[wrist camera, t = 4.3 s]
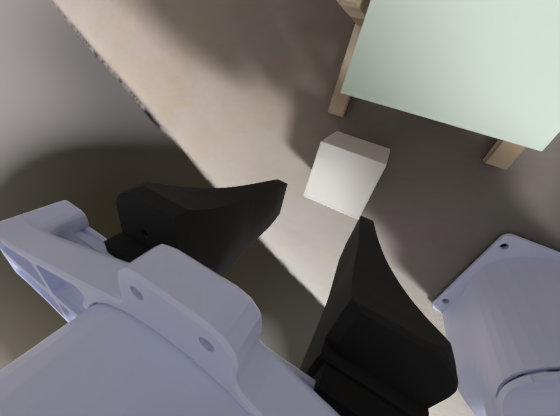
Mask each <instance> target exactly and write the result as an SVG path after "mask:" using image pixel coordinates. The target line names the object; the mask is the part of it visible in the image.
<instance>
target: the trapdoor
mask: <svg viewBox="0 0 560 416" xmlns="http://www.w3.org/2000/svg"><path fill="white" fill-rule="evenodd" d="M340 93H342V94H346V95H349V96H353V97H356V98H360V99H363V100H367V101H370V102H373V103H377V104H380V105H384V106H387V107H391V108H394V109H397V110H401V111H404V112H408V113H411V114H415V115H418V116H422V117H425V118H428V119H432V120H435V121H439V122H442V123H446V124H449V125H453V126H456V127H459V128H463V129H466V130H470V131H473V132H477V133H480V134H483V135H487V136H490V137H494V138H497V139H501V140H504V141H508V142H511V143H514V144H518V145H521V146H525V147H528V148H532V149H535V150H539V151H543V149H544V148H545V147H546V146H547V145H548V144H549V143H550V142H551V141H552V140H553V138H554V137H555V136H556V135H557V134H558V133H559V132H560V0H371V1H370V4H369V7H368V10H367V13H366V16H365V19H364V22H363V25H362V28H361V31H360V34H359V37H358V40H357V43H356V46H355V50H354V53H353V56H352V59H351V62H350V65H349V68H348V71H347V74H346V77H345V80H344V83H343V86H342V89H341V92H340Z"/></svg>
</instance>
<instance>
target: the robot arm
mask: <svg viewBox="0 0 560 416" xmlns="http://www.w3.org/2000/svg"><path fill="white" fill-rule="evenodd" d="M286 187H287V183H285V182H282V181H280V180H271V181H266V182H261V183H255V184H250V185H244V186H237V187H228V188H190V187H179V186H172V185H166V184H159V183H154V182H148V181H147V182H144V183H141V184H139V185H136V186H133V187H130V188H128V189H125V190H123V191H120V193H119V194H118V196H117V201H116V204H117V210H118V215H119V219H120V223H121V227H122V231H123V232H121V233H119V234H117V235H115V236H114V237H111V238H109V239H106V238H105V237H103V236H102V235H100V234H99V233H97V232H96V231H94V230H93V229H92V228H90V227H89V224H88V220H87V218H86V216H85V214H84V213H83V211H81V210H80V209H79V208H77V207H76V206H74V205H73V204H71V203H70V202H68V201H66V200H63V201H60V202H57V203H54V204H51V205H48V206H45V207H42V208H39V209H36V210H33V211H30V212H27V213H24V214H21V215H18V216H15V217H12V218H9V219H7V220H3V221H0V250H1V251H2V253H3V254H4V256H5V257H6V258H7V260H8V261H9V263H10V264H11V266H12V267H13V269H14V270H15V271H16V272H17V273H18V274H19V275H20V276H21V277H22V278H23V279H24V280H25V281H26V282H28V283H29V284H30V285H31V286H32V287H33V288H34V289H35V290H36V291H37V292H38V293H39V294H40V295H41V296H42V297H43V298H44V299H45V300H46V301H48V303H49V304H50V305H51V306H52V307H53V308H54V309H55V310H56V311H57V312H58V313H59V314H60V315H61V316H62V317H63V318H64V319H65V320H66V321H67V322H68V323H67V324H66V325H64V326H63V327H62V328H60V329H59V330H57V331H56V332H54V333H53V334H52V335H50V336H49V337H47V338H46V339H44V340H43V341H42V342H40V343H39V344H37V345H36V346H34V347H33V348H31V349H30V350H29V351H27V352H26V353H24V354H23V355H21V356H20V357H19V358H17V359H16V360H14V361H13V362H11V363H10V364H9V365H7V366H6V367H4V368H3V369H1V370H0V416H429V412H428V408H430V407H432V406H434V405H436V404H437V403H439V402H441V401H443V400H445V399H447V398H449V397H450V396H451V395H452V394H454V393H455V392H456V390H457V388H458V390H459V392H460V393H461V395H462V397H463V398H464V400H465V402H466V403H467V405H468V406H469V408H470V409H471V410H472V411H473V413H474V414H475V415H476V416H560V252H558V251H556V250H553V249H551V248H548V247H545V246H543V245H540V244H538V243H535V242H532V241H530V240H527V239H525V238H522V237H519V236H517V235H514V234H510V233H508V234H503V235H501V236H500V237H499V238H498V239H497V240H496V241H495V242H494V243H493V244H492V245H491V246H490V247H489V248H488V249H487V250H486V251H485V252H484V253H483V254H482V255H481V256H480V257H479V258H478V259H476V260H475V261H474V262H473V263H472V264H471V265H470V266H469V267H468V268H467V269H466V270H465V271H464V272H463V273H462V274H461V275H460V276H459V277H458V278H457V279H456V280H455V281H454V282H453V283H452V284H451V285H450V286H449V287H448V288H447V289H446V290H445V291H444V292H443V293H442V294H441V295H440V296H439V297H437V298H436V299H435V300H434V301H433V303H432V306H433V308H434V309H435V310H437V311H439V312H441V313H443V319H444V326H445V332H446V338H445V337H444V336H443V334H442V333H441V332H440V331H439V330H438V329H437V328H436V327H435V326H434V325H433V324H432V323H431V322H430V321H429V320H428V319H427V318H426V317H425V316H424V314H423V313H422V312H421V311H420V310H419V308H418V307H417V306H416V305H415V304H414V302H413V301H412V300H411V299H410V297H409V296H408V295H407V293H406V292H405V290H404V289H403V288H402V286H401V285H400V283H399V282H398V280H397V279H396V277H395V275H394V274H393V272H392V270H391V268H390V267H389V265H388V263H387V261H386V259H385V256H384V254H383V252H382V249H381V246H380V244H379V241H378V238H377V234H376V231H375V227H374V223H373V221H372V220H369V219H367V218H365V217H363V216H360V218H359V220H358V222H357V224H356V226H355V228H354V230H353V232H352V234H351V235H350V237H349V239H348V241H347V243H346V245H345V247H344V250H343V252H342V255H341V257H340V259H339V262H338V266H337V270H336V273H335V277H334V280H333V284H332V288H331V291H330V295H329V298H328V301H327V303H326V306H325V309H324V311H323V313H322V316H321V318H320V321H319V323H318V326H317V328H316V331H315V333H314V336H313V338H312V341H311V343H310V345H309V348H308V350H307V353H306V355H305V357H304V360H303V362H302V364H301V367H300V369H298V368H296V367H295V366H294V365H292V364H290V363H289V362H287V361H286V360H285V359H283V358H282V357H280V356H279V355H277V354H276V353H274V352H273V351H271V350H270V349H269V348H268V347H267V346H266V345H265V344H264V343H263V342H262V341H261V340H260V339H259V336H260V333H261V330H262V319H261V313H260V311H259V309H258V307H257V306H256V304H255V303H254V301H253V300H252V298H251V297H250V296H249V295H248V294H246V293H245V292H244V291H243V290H242V289H240V288H239V287H238V286H236V285H235V284H233V283H232V282H230V281H228V280H227V279H225V278H223V276H224V275H225V274H226V272H227V271H228V270H229V269H230V267H231V266H232V265H233V263H234V262H235V261H236V260H237V259H238V258H239V256H240V255H241V254H242V253H243V252H244V250H246V249H247V247H249V246H250V245H251V244H252V243H253V242H254V241H255V240H256V239H257V238H258V237H259V236H260V235H261V234H262V233H263V232H264V231H265V230H266V229H267V228H268V227H269V226H270V225H271V224H272V223H273V222H274V220H275V219H276V218H277V216H278V215H279V214H280V210H281V206H282V203H283V199H284V195H285V191H286ZM501 244H507V246H505V247H501V246H500V245H501ZM443 299H447V300H443Z"/></svg>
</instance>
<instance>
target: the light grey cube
mask: <svg viewBox="0 0 560 416" xmlns="http://www.w3.org/2000/svg"><path fill="white" fill-rule="evenodd" d="M389 153H390V149H389V148H386V147H383V146H380V145H377V144H374V143H371V142H368V141H365V140H362V139H359V138H356V137H353V136H350V135H347V134H345V133H342V132H339V131H336V132H334V133H333V134H331V135H330V136H328V137H327V138H325V139H324V140H322V141H321V143H320V146H319V149H318V152H317V155H316V158H315V161H314V165H313V168H312V171H311V174H310V177H309V180H308V183H307V187H306V190H305V193H304V197H307V198H309V199H311V200H314V201H316V202H318V203H320V204H323V205H325V206H327V207H329V208H332V209H334V210H336V211H339V212H341V213H343V214H345V215H348V216H350V217H352V218H355V219H357V220H358V219H359V217H360V215H361V213H362V211H363V209H364V208H365V206H366V204H367V202H368V200H369V198H370V196H371V194H372V192H373V190H374V188H375V186H376V184H377V182H378V180H379V178H380V177H381V175H382V173H383V171H384V169H385V167H386V165H387V161H388V157H389Z"/></svg>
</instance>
